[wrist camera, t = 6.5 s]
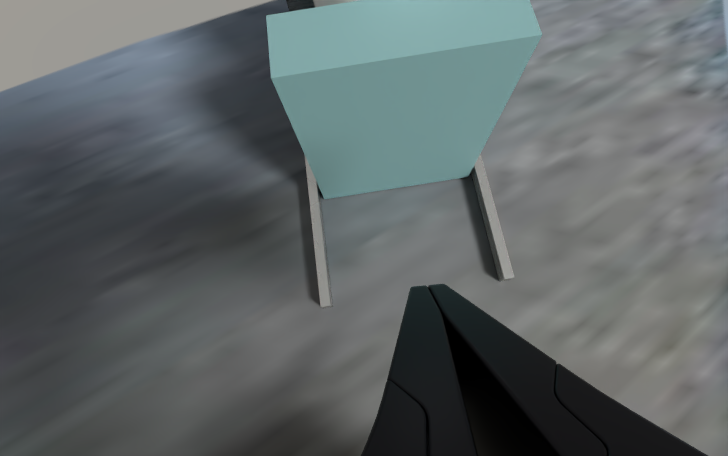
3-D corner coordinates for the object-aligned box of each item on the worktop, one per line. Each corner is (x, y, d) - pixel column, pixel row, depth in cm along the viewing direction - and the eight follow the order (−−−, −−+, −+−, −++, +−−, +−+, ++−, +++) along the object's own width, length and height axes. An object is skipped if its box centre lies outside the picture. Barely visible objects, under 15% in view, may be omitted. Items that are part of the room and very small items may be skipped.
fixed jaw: (508, 280, 22) (640, 220, 11) (323, 308, 22) (258, 278, 11) (442, 31, 28) (481, -177, 17) (296, 55, 28) (235, -136, 17)
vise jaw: (468, 176, 24) (542, 34, 13) (324, 199, 24) (271, 78, 13) (458, 138, 25) (519, -26, 14) (319, 160, 25) (265, 15, 14)
